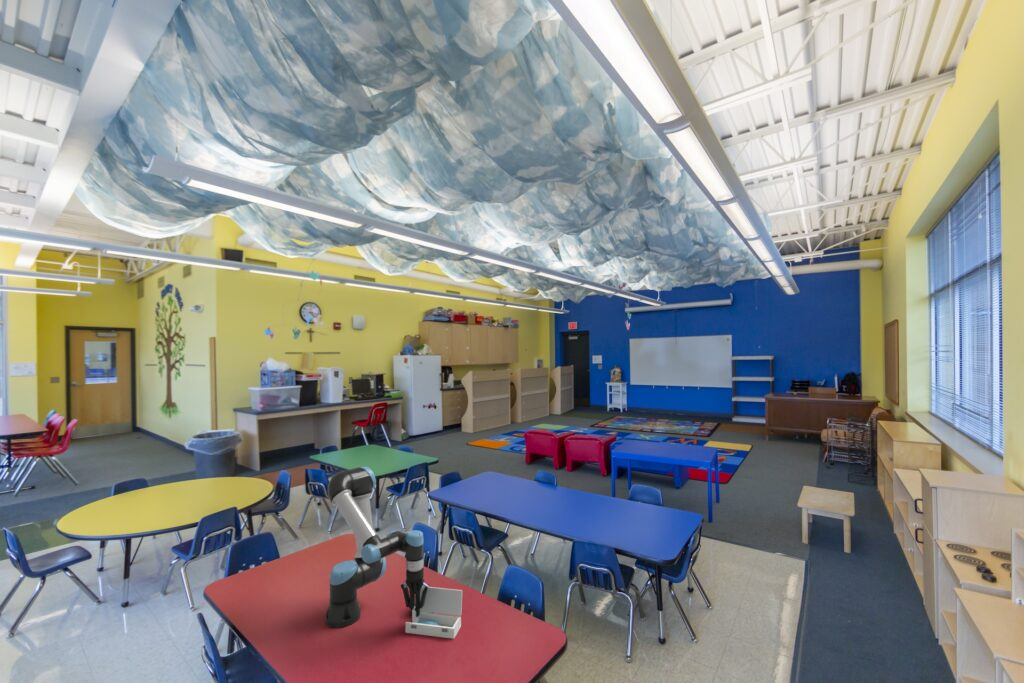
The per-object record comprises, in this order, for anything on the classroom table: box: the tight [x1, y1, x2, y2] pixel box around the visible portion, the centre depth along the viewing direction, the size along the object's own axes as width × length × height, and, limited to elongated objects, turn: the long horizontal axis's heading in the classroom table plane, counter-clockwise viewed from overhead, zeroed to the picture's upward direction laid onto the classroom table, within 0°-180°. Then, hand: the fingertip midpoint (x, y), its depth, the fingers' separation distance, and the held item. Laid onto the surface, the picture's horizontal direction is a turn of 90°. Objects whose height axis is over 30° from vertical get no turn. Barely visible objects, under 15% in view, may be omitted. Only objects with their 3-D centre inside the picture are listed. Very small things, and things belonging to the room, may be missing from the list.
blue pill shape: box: [417, 620, 439, 626], centre depth 189 cm, size 10×3×3 cm, turn 75°
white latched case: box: [405, 612, 462, 640], centre depth 188 cm, size 22×10×4 cm, turn 78°
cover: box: [420, 586, 463, 617], centre depth 194 cm, size 22×10×1 cm
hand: (415, 623), depth 190 cm, fingers closed
